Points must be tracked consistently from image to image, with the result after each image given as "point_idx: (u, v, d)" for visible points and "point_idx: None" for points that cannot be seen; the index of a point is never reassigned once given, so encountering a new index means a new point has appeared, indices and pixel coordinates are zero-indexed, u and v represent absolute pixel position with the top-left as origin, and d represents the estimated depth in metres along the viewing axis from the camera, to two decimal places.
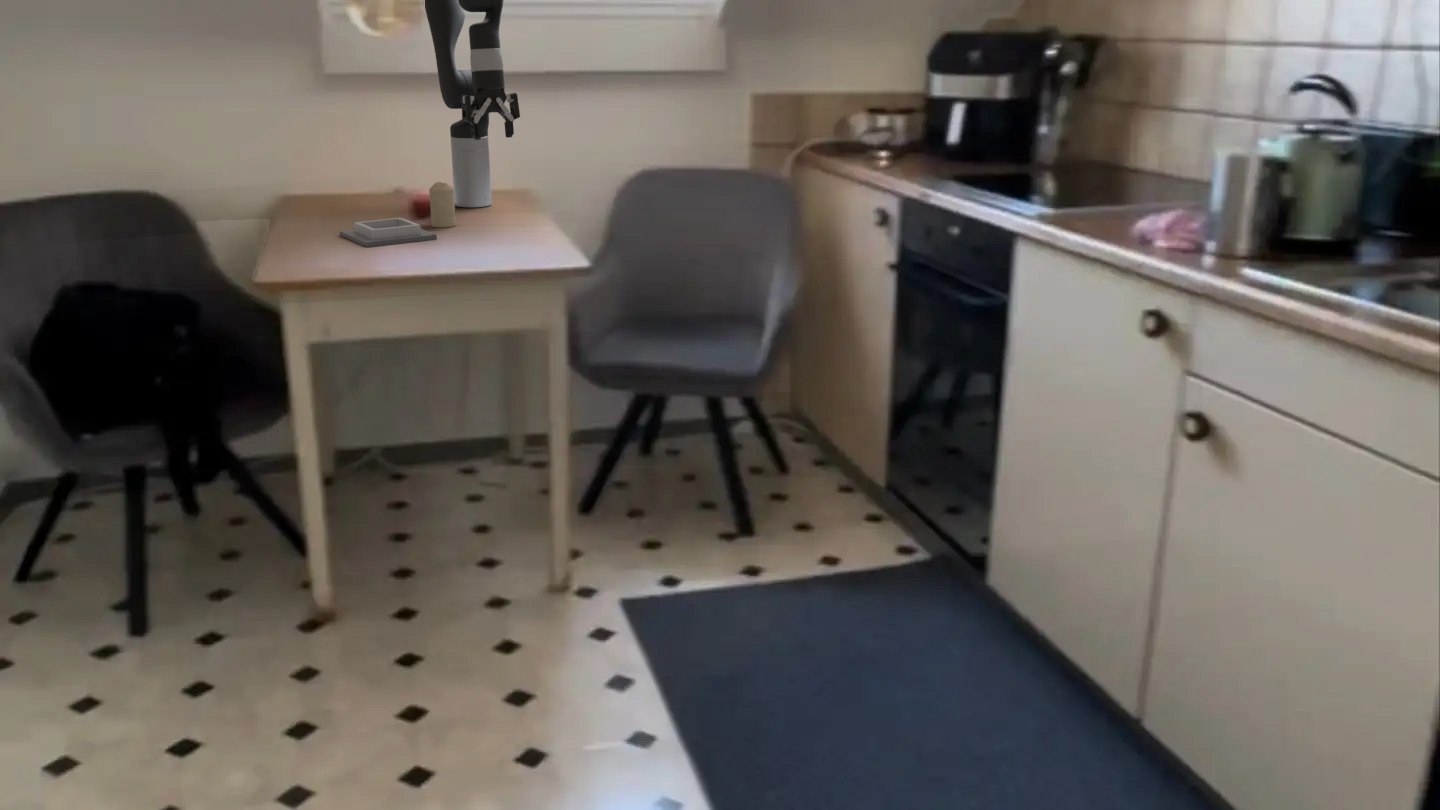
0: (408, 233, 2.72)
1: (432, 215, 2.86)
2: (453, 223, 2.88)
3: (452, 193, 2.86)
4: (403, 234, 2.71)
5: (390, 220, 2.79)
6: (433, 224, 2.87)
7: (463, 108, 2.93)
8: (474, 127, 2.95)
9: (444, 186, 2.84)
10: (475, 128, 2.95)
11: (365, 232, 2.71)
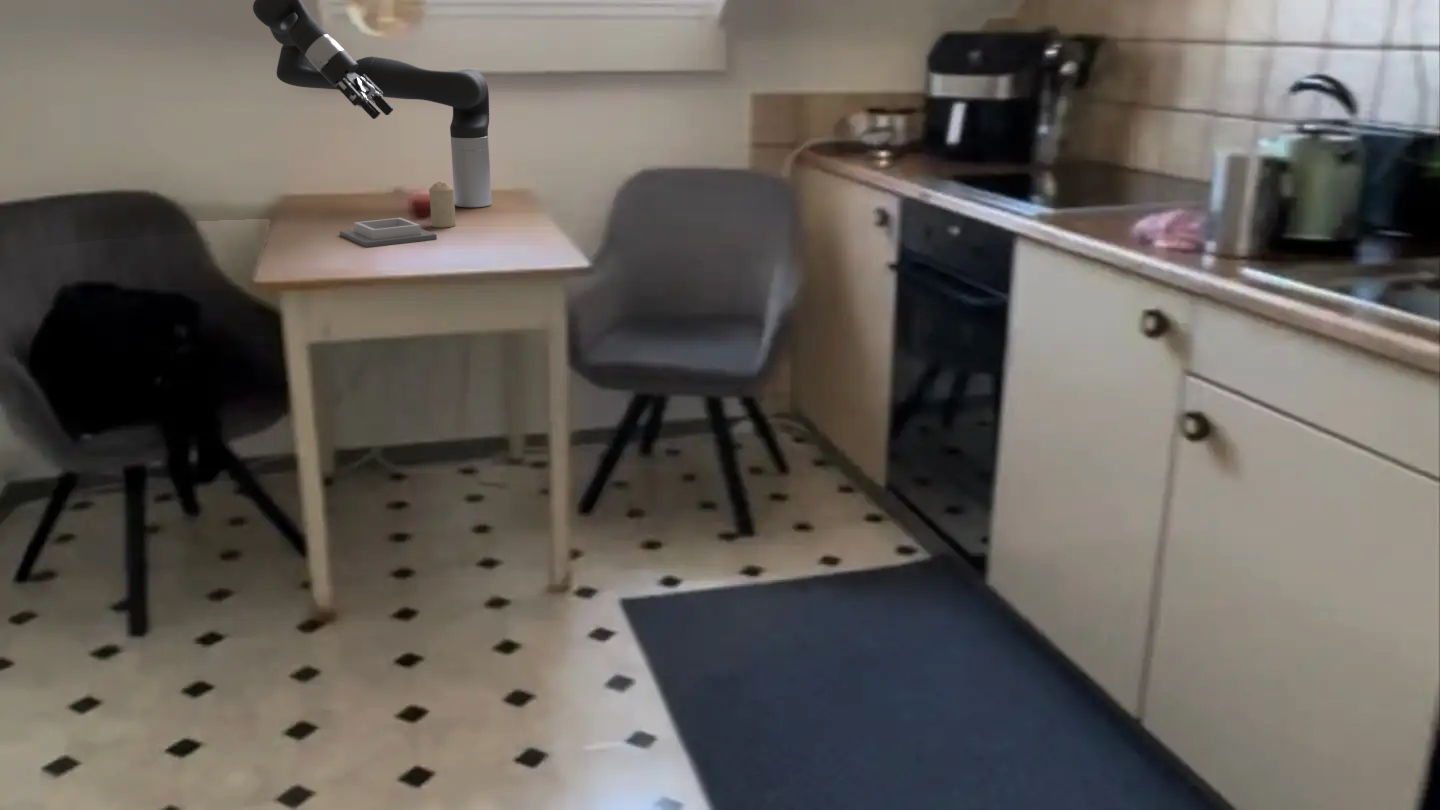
0: (408, 233, 2.72)
1: (432, 215, 2.86)
2: (453, 223, 2.88)
3: (452, 193, 2.86)
4: (403, 234, 2.71)
5: (390, 220, 2.79)
6: (433, 224, 2.87)
7: (347, 93, 2.74)
8: (368, 104, 2.76)
9: (444, 186, 2.84)
10: (369, 105, 2.76)
11: (365, 232, 2.71)
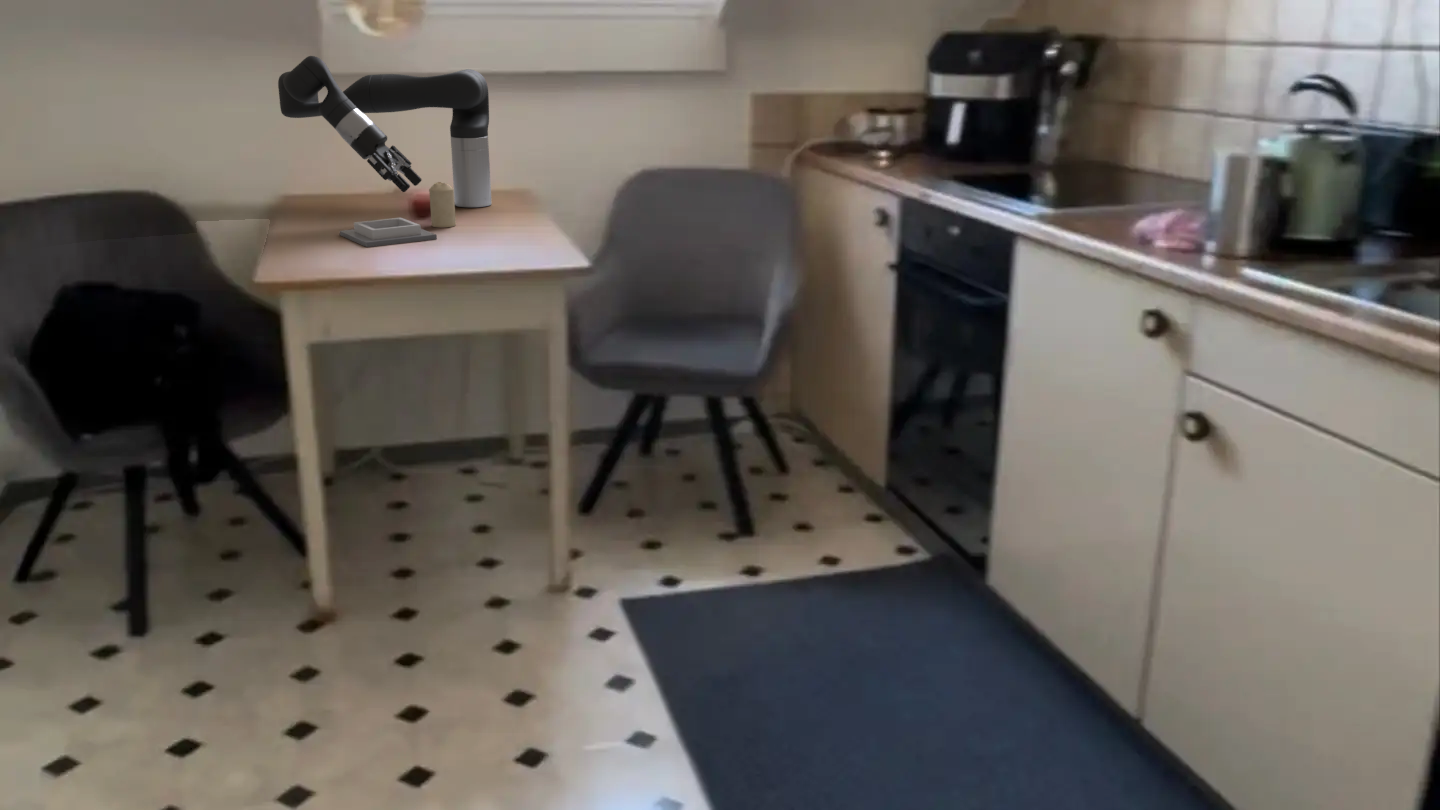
0: (408, 233, 2.72)
1: (432, 215, 2.86)
2: (453, 223, 2.88)
3: (452, 193, 2.86)
4: (403, 234, 2.71)
5: (390, 220, 2.79)
6: (433, 224, 2.87)
7: (378, 167, 2.77)
8: (398, 178, 2.80)
9: (444, 186, 2.84)
10: (399, 179, 2.80)
11: (365, 232, 2.71)
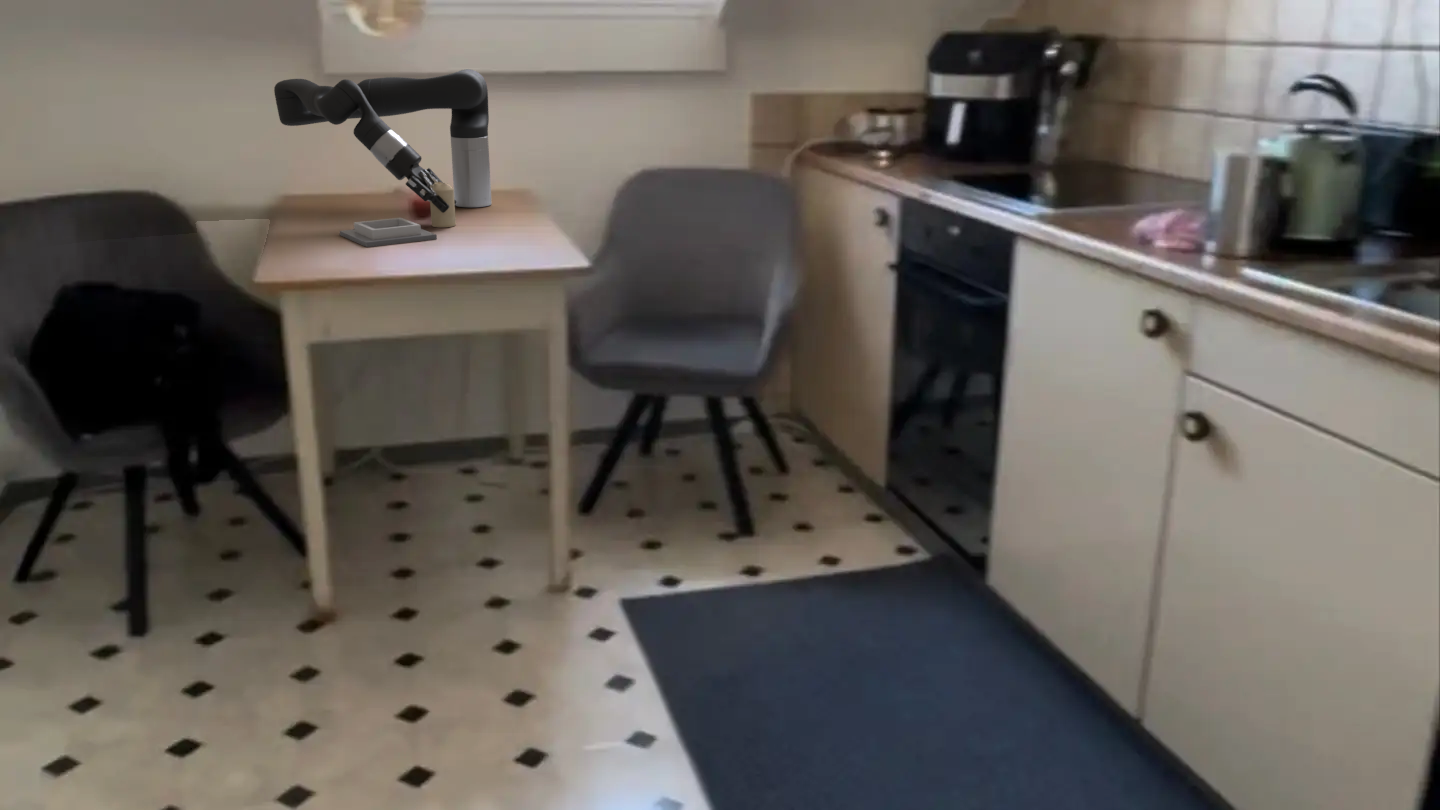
0: (408, 233, 2.72)
1: (432, 215, 2.86)
2: (453, 223, 2.88)
3: (452, 193, 2.86)
4: (403, 234, 2.71)
5: (390, 220, 2.79)
6: (433, 224, 2.87)
7: (418, 190, 2.80)
8: (438, 199, 2.83)
9: (444, 186, 2.84)
10: (439, 199, 2.83)
11: (365, 232, 2.71)
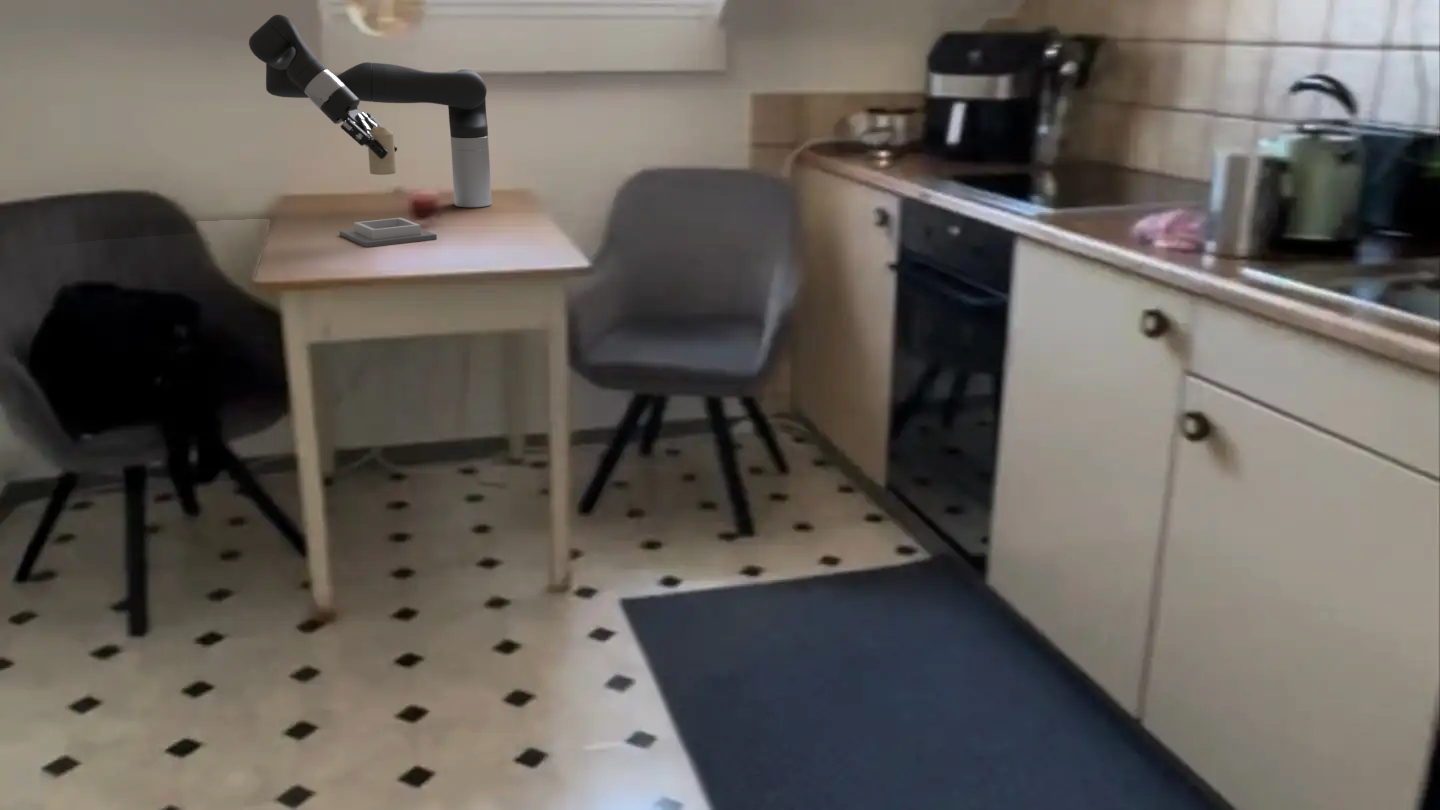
0: (408, 233, 2.72)
1: (370, 161, 2.69)
2: (393, 170, 2.70)
3: (391, 138, 2.68)
4: (403, 234, 2.71)
5: (390, 220, 2.79)
6: (371, 171, 2.70)
7: (354, 133, 2.63)
8: (375, 144, 2.66)
9: (383, 130, 2.67)
10: (377, 144, 2.66)
11: (365, 232, 2.71)
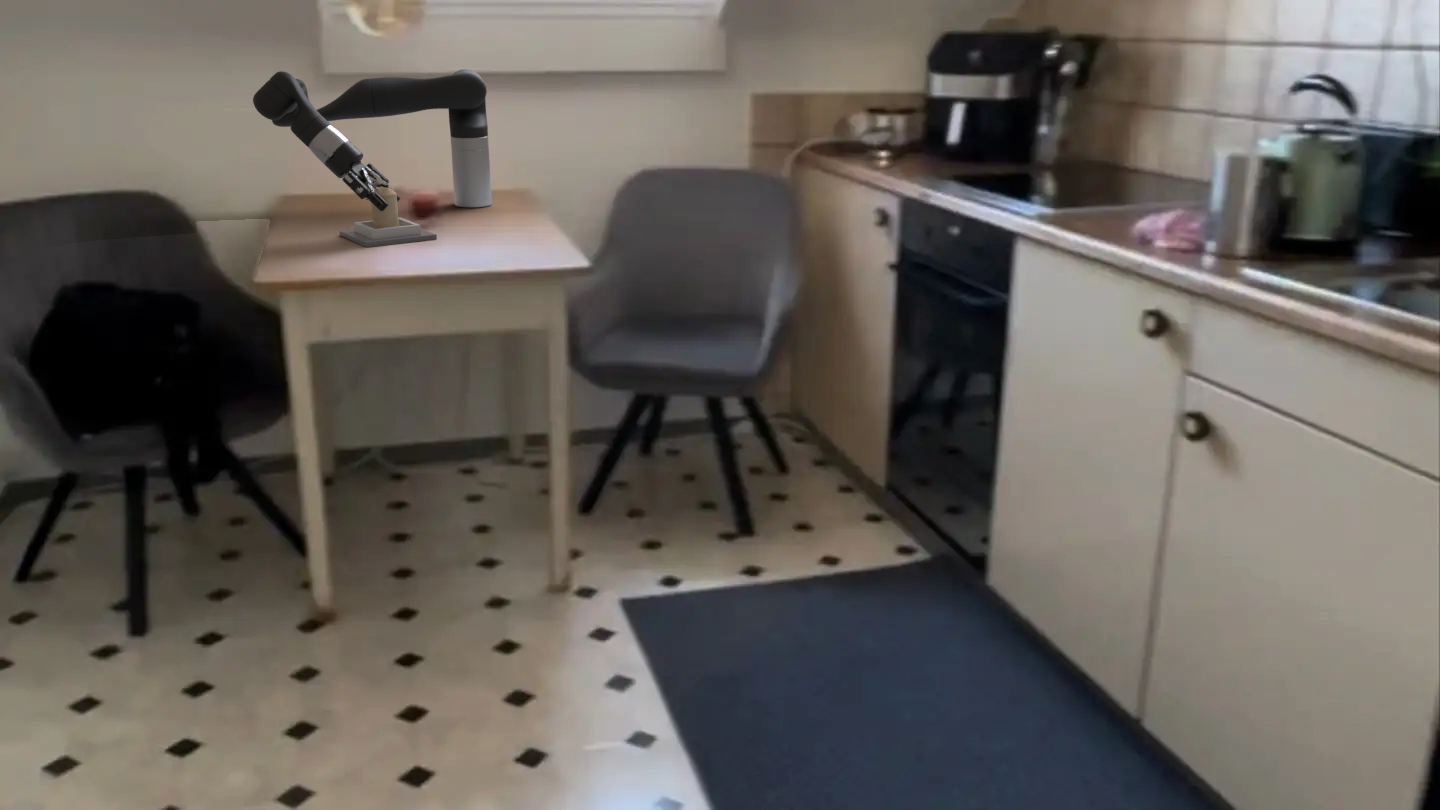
0: (408, 233, 2.72)
1: (374, 221, 2.73)
2: None
3: (394, 198, 2.72)
4: (403, 234, 2.71)
5: None
6: None
7: (354, 186, 2.65)
8: (376, 197, 2.67)
9: (386, 191, 2.71)
10: (377, 197, 2.68)
11: (365, 232, 2.71)
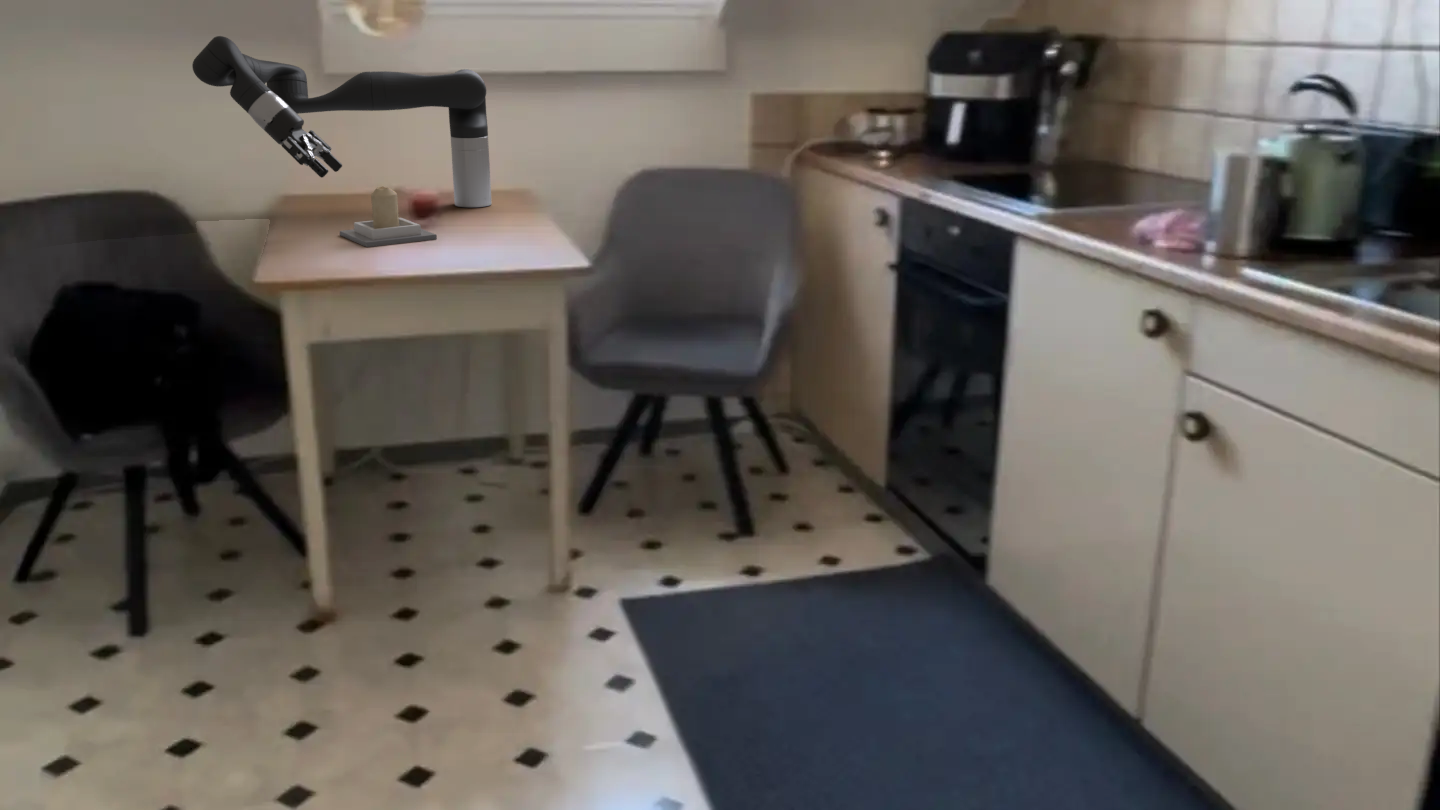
0: (408, 233, 2.72)
1: (374, 221, 2.73)
2: None
3: (395, 198, 2.72)
4: (403, 234, 2.71)
5: None
6: None
7: (293, 152, 2.63)
8: (315, 163, 2.66)
9: (386, 191, 2.70)
10: (317, 163, 2.66)
11: (365, 232, 2.71)
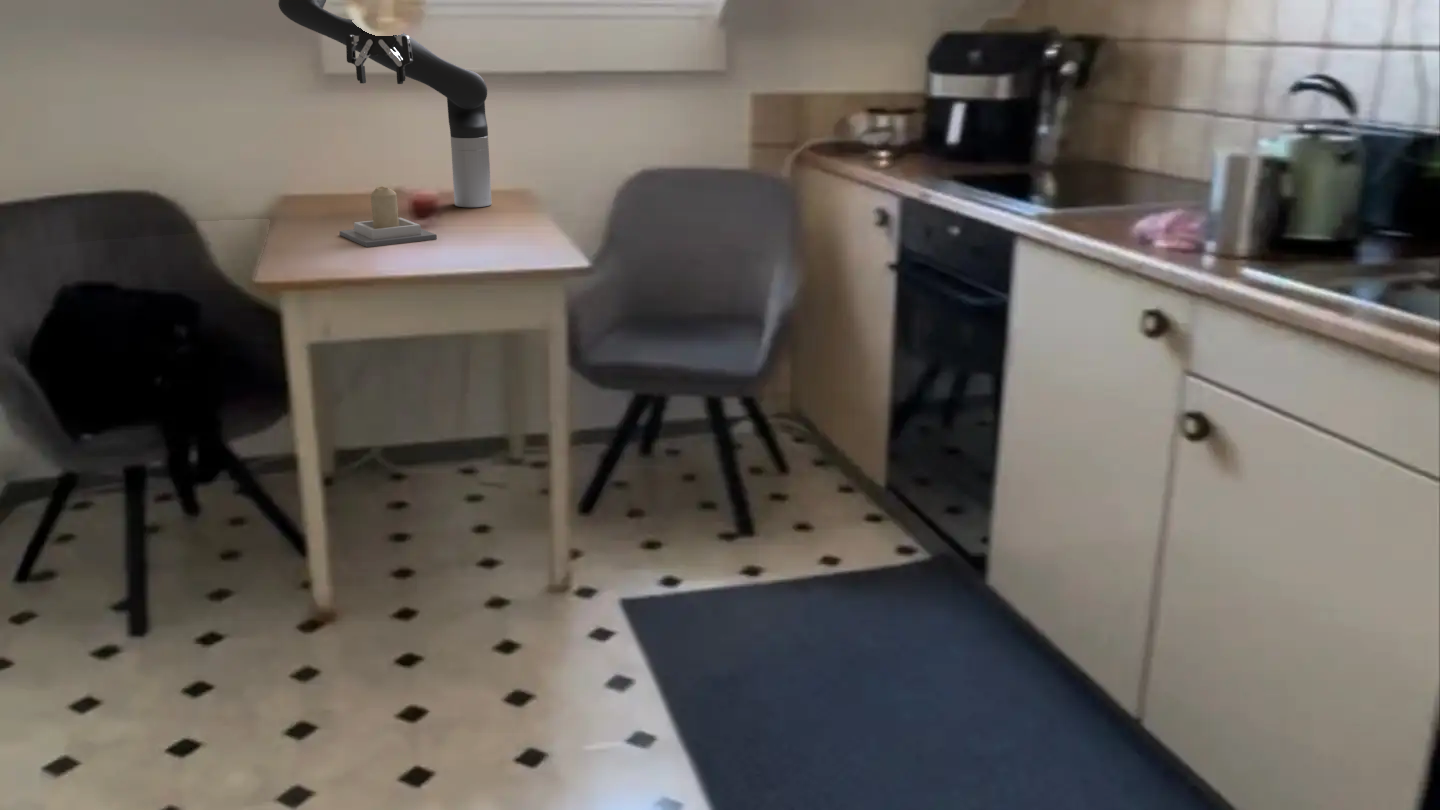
0: (408, 233, 2.72)
1: (374, 221, 2.73)
2: None
3: (394, 198, 2.72)
4: (403, 234, 2.71)
5: None
6: None
7: (409, 49, 2.74)
8: None
9: (385, 191, 2.70)
10: None
11: (365, 232, 2.71)
